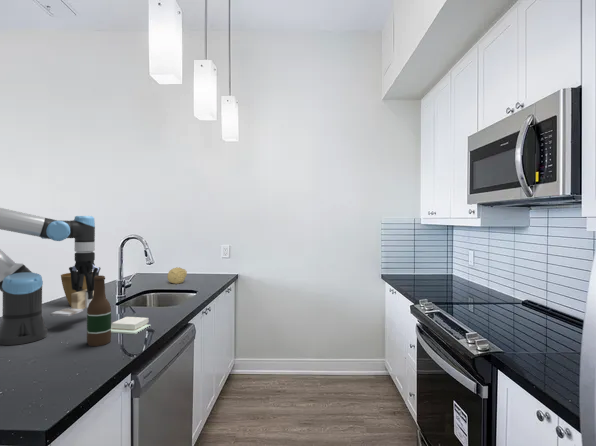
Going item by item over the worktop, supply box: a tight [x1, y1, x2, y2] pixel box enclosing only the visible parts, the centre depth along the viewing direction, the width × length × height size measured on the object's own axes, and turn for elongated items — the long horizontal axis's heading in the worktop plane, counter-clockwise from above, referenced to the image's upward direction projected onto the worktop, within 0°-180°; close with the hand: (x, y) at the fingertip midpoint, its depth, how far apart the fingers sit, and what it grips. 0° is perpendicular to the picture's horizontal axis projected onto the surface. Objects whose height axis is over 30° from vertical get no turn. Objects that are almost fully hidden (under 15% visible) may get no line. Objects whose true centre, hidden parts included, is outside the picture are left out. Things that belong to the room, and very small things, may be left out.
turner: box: [49, 289, 94, 317], centre depth 155 cm, size 20×8×7 cm, turn 172°
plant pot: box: [60, 271, 93, 307], centre depth 188 cm, size 15×15×16 cm
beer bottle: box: [86, 274, 112, 347], centre depth 133 cm, size 8×8×24 cm
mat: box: [111, 323, 152, 335], centre depth 150 cm, size 11×14×1 cm
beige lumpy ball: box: [167, 266, 188, 285], centre depth 256 cm, size 11×12×11 cm
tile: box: [111, 316, 149, 330], centre depth 152 cm, size 2×10×10 cm
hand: (84, 306), depth 159 cm, fingers closed on turner, 3 cm apart
